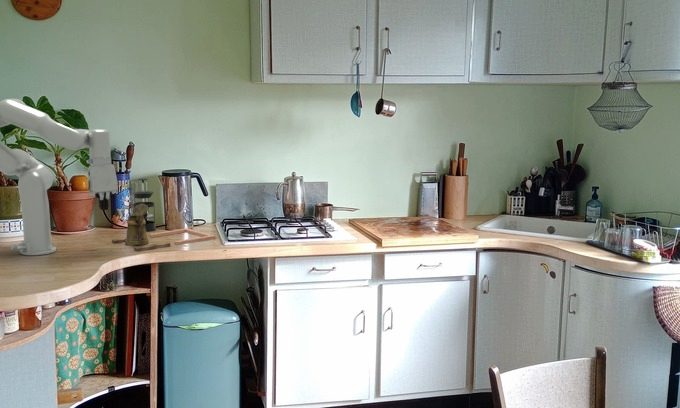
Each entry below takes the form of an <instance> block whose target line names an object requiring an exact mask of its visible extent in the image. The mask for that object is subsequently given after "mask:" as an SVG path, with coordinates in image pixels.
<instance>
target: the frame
mask: <svg viewBox="0 0 680 408" xmlns="http://www.w3.org/2000/svg"><path fill="white" fill-rule="evenodd" d="M183 233H187V234H191V235H195V236H197V237H194V238H187V239H180V240H175V241H174V245H176V246H179V245H185V244H192V243H196V242H197V243H198V242H203V241H208V240H209V241H210V240H216V235H214V234H209V233H206V232H202V231H198V230H194V229H191V228H187V227H186V228H181V229H173V230H168V231H161V232H160V231H159V232H154V233H150V234H149V236H150V238H158V237H164V236H171V235H177V234H183Z"/></svg>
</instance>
